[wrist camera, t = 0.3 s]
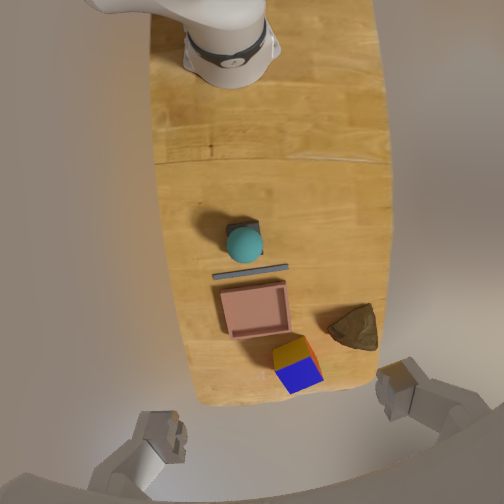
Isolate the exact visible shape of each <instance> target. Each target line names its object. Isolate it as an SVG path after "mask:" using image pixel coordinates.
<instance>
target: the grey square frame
mask: <svg viewBox="0 0 504 504" xmlns="http://www.w3.org/2000/svg"><path fill="white" fill-rule="evenodd" d="M240 227H249V228H252V229H254V230H256V231H257V232H258V233H259V234H260V228H259V221H252V222H246V223H239V224H233V225H227V227H226V230H227V236H228V237H229V235H230V234H231V232H232V231H234V230H235V229H237V228H240ZM260 236H261V234H260ZM260 255H263V249H262V252H261V254H260Z"/></svg>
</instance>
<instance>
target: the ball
mask: <svg viewBox="0 0 504 504" xmlns="http://www.w3.org/2000/svg"><path fill="white" fill-rule="evenodd" d="M226 247H227V251H228V254H229V255H230V257H231V258H232V259H233V260H235V261H237V262H239V263H250V262H253V261H255V260H256V259H257V258H258V257H259V256H260V254H261V252H262V249H263V241H262V238H261V236H260V234H259V233H258V232H257V231H256V230H254V229H252V228H249V227H240V228H237V229H235V230H234V231H232V232H231V234H230V235H229V237H228V239H227V243H226Z"/></svg>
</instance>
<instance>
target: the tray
mask: <svg viewBox="0 0 504 504" xmlns="http://www.w3.org/2000/svg"><path fill="white" fill-rule="evenodd" d="M220 295H221V300H222V305H223V309H224V314H225V318H226V323H227V327H228V332H229V336H230V340H236V339H245V338H253V337H261V336H268V335H275V334H282V333H288V332H292V329H291V319H290V310H289V302H288V293H287V285H286V281H279V282H272V283H265V284H258V285H251V286H244V287H237V288H230V289H222V290H221V292H220Z"/></svg>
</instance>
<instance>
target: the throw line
mask: <svg viewBox="0 0 504 504" xmlns="http://www.w3.org/2000/svg"><path fill="white" fill-rule="evenodd" d="M287 269H289V268H288V264H285V265H279V266H272V267H265V268H258V269H251V270H245V271H238V272H231V273H224V274H216V275H213V276H214V280H218V279H225V278H233V277H240V276H247V275H254V274H260V273H267V272H274V271H281V270H287Z"/></svg>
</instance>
